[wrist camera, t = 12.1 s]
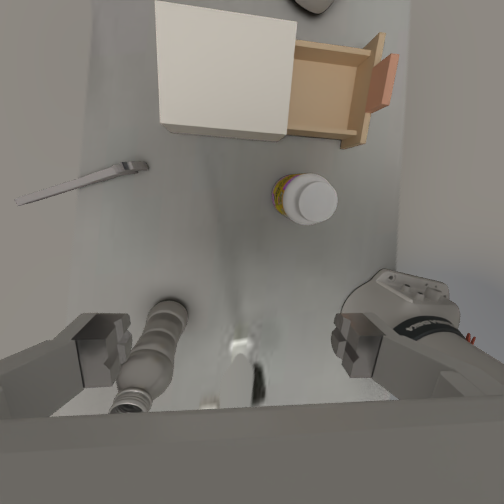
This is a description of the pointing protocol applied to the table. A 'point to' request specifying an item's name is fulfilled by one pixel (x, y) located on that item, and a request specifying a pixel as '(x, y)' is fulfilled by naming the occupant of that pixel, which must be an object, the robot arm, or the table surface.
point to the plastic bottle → (150, 360)
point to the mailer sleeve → (223, 72)
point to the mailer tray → (339, 89)
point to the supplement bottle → (305, 198)
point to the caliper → (84, 181)
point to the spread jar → (314, 5)
